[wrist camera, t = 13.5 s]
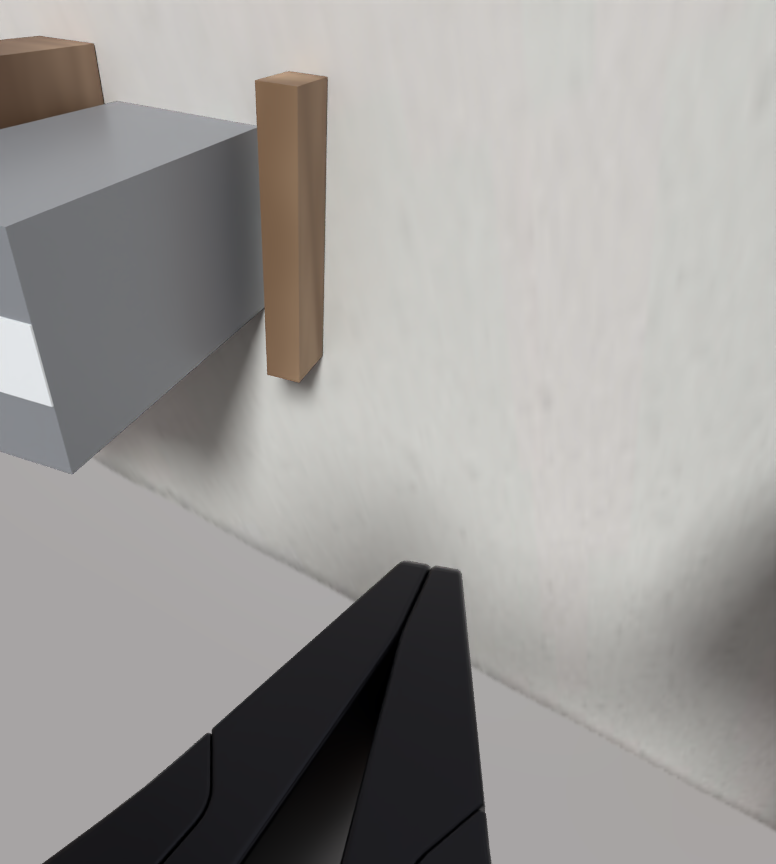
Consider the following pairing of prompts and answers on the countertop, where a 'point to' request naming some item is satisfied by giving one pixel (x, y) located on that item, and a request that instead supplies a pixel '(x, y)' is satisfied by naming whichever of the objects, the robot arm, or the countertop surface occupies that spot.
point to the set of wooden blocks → (278, 177)
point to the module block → (118, 267)
